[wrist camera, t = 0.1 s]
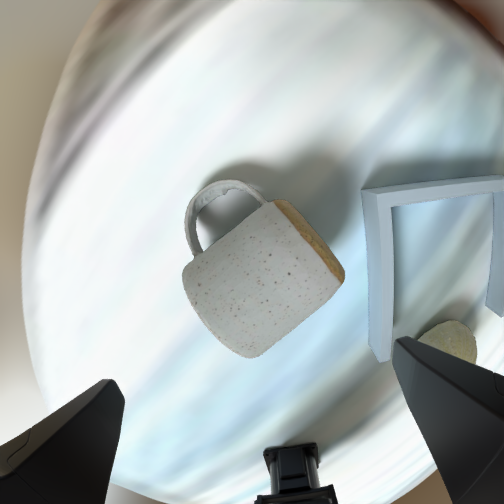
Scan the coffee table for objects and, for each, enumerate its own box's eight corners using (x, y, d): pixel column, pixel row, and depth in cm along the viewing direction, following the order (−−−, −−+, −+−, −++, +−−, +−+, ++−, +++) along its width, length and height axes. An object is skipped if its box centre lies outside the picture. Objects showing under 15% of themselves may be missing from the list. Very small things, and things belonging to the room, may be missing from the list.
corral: (490, 303, 24) (506, 314, 21) (368, 344, 25) (379, 363, 22) (498, 174, 20) (518, 178, 17) (360, 189, 21) (376, 194, 18)
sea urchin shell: (469, 299, 22) (503, 368, 18) (448, 315, 29) (475, 370, 25) (393, 352, 23) (426, 424, 19) (386, 356, 30) (413, 413, 26)
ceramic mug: (335, 258, 22) (370, 300, 15) (256, 321, 24) (257, 382, 17) (244, 152, 20) (238, 143, 13) (164, 227, 22) (124, 256, 15)
